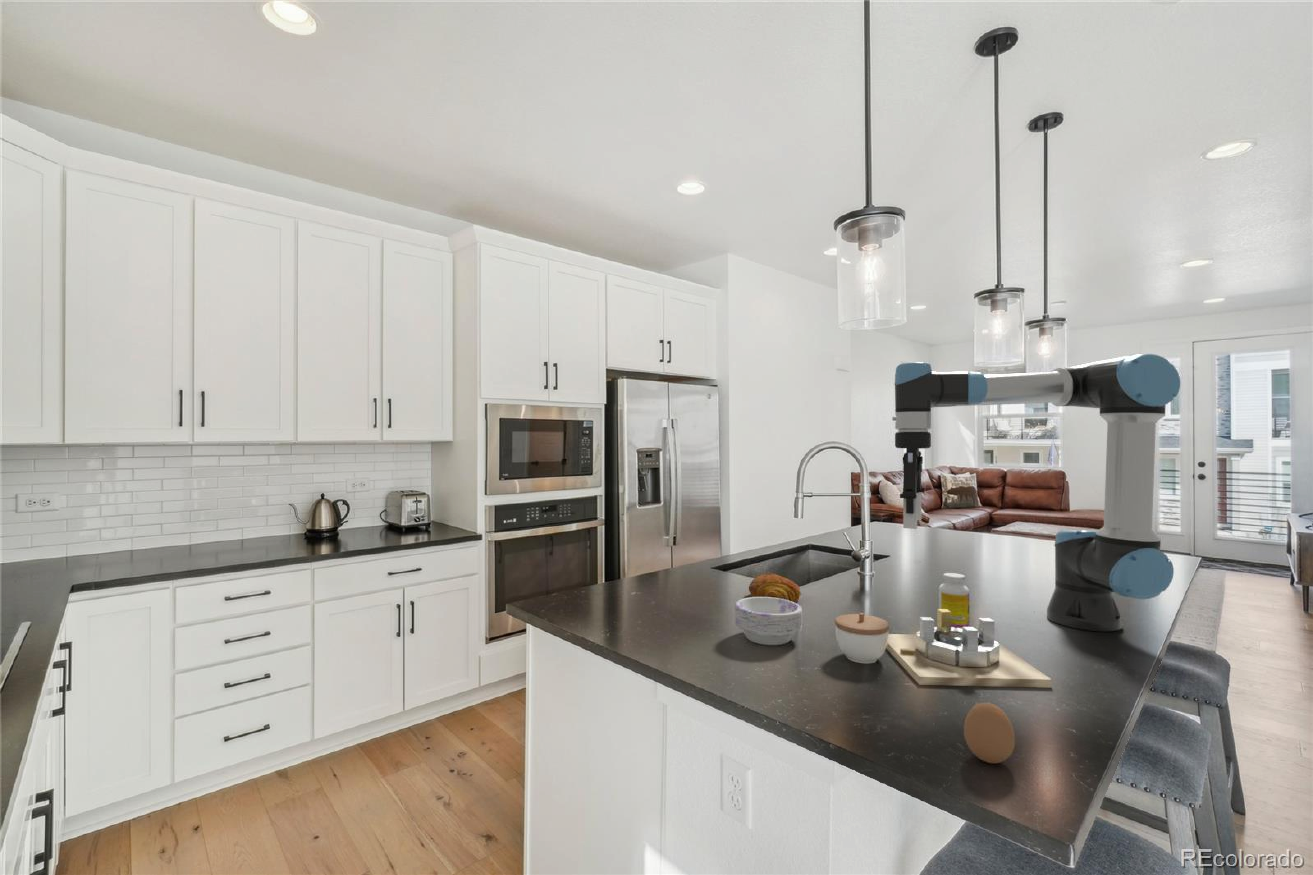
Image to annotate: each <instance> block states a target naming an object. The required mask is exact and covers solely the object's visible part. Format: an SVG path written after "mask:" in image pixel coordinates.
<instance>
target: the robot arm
mask: <svg viewBox="0 0 1313 875" xmlns="http://www.w3.org/2000/svg"><path fill="white" fill-rule="evenodd" d="M893 383H894V400H895V401H894V402H895V404H894V407H895V410H894V411H895V416H892V419H891V420H892V421H894V423H895V426H894V427H895V428H894V429H895V430H897V432H895V433H894V446H895V448H897V449H906V450H905V452H904V454H903V456H902V466H903V467H902V470H903V471H902V472H903V480H902V481H903V483H902V484H903V485H902V493H900V494H899V499H903V501H902V502H903V503H902V504H903V505H902V506H903V509H902V510H903V516H902V520H903V521H902V522H903V526H902V528H903V529H911V530H912V529H914V530H917V529H918V521H919V522H921V521H922V493H924V494H925V488H924V487H923V486H922V485H923V484H922V471H923V462H924V461H923V460H924V459H923V456H921V455H922V452H921V451H920V449H930V448H931V447H932V436H931V435H932V434H931V433H930V432H931V431H929V430H932V409H933V408H946V407H947V408H948V407H968V406H969V407H971V406H994V405H995V406H996V405H999V406H1000V405H1019V404H1020V405H1023V404H1024V405H1025V404H1049V403H1051V404H1052V405H1053V406H1056V407H1076V408H1077V407H1079V408H1090V409H1099V416H1100V418H1102V419H1103V420H1105V422H1106V426H1107V430H1106V453H1105V455H1106V456H1105V457H1106V458H1105V482H1104V483H1105V484H1104V485H1105V487H1104V514H1103V526H1102V527H1101V528H1099V529H1098V530H1097V529H1096V530H1094V529H1093V530H1090V529H1089V530H1088V529H1085V530H1084V529H1065V530H1064V529H1063V530H1062V529H1061V530H1058V531H1057V532H1056V534H1055V540H1054V541H1055V542H1054V544H1053V545H1054V552H1055V556H1054V559H1055V560H1054V562H1055V563H1054V565H1055V566H1054V569H1055V570H1054V572H1055V574H1054V576H1055V577H1054V578H1055V579H1054V581H1055V583H1054V585H1055V586H1054V590H1053V592H1052V596H1051V598H1050V600H1049V602H1048V605H1047V608H1046V617H1047V619H1048V620H1050V622H1053V623H1056V624H1058V625H1061V626H1064V627H1068V628H1073V629H1079V630H1084V631H1091V632H1092V631H1093V632H1116V631H1120V630H1122V616H1121V614H1120V612H1119V609H1118V606H1117V604H1116V601H1115V598H1114V596H1113V593H1115V594H1117V595H1118V596H1121V597H1124V598H1131V599H1135V600H1141V601H1143V600H1149V599H1150V600H1151V599H1153V598H1157V597H1158V596H1160V595H1161V593H1162V592H1165V591H1166V590H1167V589H1168V588H1169V587H1170V585H1171V583H1172V582H1173V579H1174V570H1175V569H1174V566H1173V562H1172V559H1169V557H1168V555H1167V554H1165V553H1164V552H1162V551H1161V537H1160V536H1158V535H1157V534H1156V533H1155V531H1153V514H1154V512H1153V511H1154V482H1155V457H1156V456H1155V453H1156V431H1157V430H1156V428H1157V426H1156V423H1157V422H1159V421H1160V420H1161V419H1162V418H1164V417H1165V416H1166V405H1167V404H1169V403H1171V402H1172V401H1173V400H1174V398H1175V397H1177V396H1178V394H1179V392H1180V388H1181V378H1180V374H1179V372H1178V369H1177V368H1176V367H1175V365H1174V364H1172V363H1171V362H1170V361H1169V360H1168V359H1167V358H1166V357H1164V356H1161V355H1158V354H1153V353H1143V354H1142V353H1139V354H1129V355H1124V356H1119V357H1116V358H1109V359H1102V360H1097V361H1094V362H1089V363H1085V364H1081V365H1076V366H1069V367H1056V368H1054V369H1053V370H1052V371H1050V372H1049V371H1047V372H1027V373H1026V372H1025V373H1004V374H1003V373H1001V374H983V373H982V372H979V371H970V370H967V371H948V372H947V371H933V370H932V366H931V363H929V362H923V361H920V362H919V361H916V362H904V363H900V364H898V365H897V367H896V368H895V374H894V382H893Z"/></svg>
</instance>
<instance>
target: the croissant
mask: <svg viewBox="0 0 1313 875" xmlns="http://www.w3.org/2000/svg"><path fill="white" fill-rule="evenodd" d="M748 591H749V593H750V595H751V597H773V598H780V599H785V600H789V601H792V602H794V603H797V602H798V601H799V599H800V596H801V589H800V586H799V585H798V583H797V584H796V582H794V581H793V580H791V579H789V578H786V577H783V576H780V575H778V574H775V573H769V574H768V573H763V574H761V575H758V576H756V577H754V578H753V579H752V580H751V582H750V584H749V586H748Z"/></svg>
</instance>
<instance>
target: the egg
mask: <svg viewBox="0 0 1313 875" xmlns="http://www.w3.org/2000/svg"><path fill="white" fill-rule="evenodd" d="M963 735H964V736H963V737H964V739H965V743H966V744H967V746H968V749H969V750H970V751H971V752H972V753H973V755H974V756H976V757H977V758H978V759H979V760H981V761H982V762H986V763H988V764H1000V763H1002V762H1004V761H1007V759H1009V758H1010V757H1011V756H1012V753H1013V751H1014V749H1015V746H1016V745H1015V744H1016V737H1015V736H1016V735H1015V731H1014V726H1013V725H1012V723H1011V721H1010V719H1009V717H1008V716H1007V714H1006V713H1005V711H1004V710H1003V709H1001V708H1000V706H997V705H996V704H994V703H990V702H981V703H978V704H975V705H974V706H973V707H972V708H971V709H970V710H969V712H968V713H967V715H966V716H965V720H964V724H963Z"/></svg>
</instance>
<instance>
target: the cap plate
mask: <svg viewBox="0 0 1313 875" xmlns="http://www.w3.org/2000/svg"><path fill="white" fill-rule="evenodd" d="M886 650H887V651H888V652H889V653H890V655H892V656H893V657H894V659H895V660H897V662H898V663H899V664H900V665H901V666H902V667H903V668H904V669H905V670H906V672H907V673H908V674H909V675H910V676H911V677H912V678H913V680H915V682H916V683H917V684H918V685H919V686H957V687H958V686H961V687H962V686H963V687H967V686H968V687H1005V688H1007V687H1008V688H1009V687H1011V688H1046V689H1047V688H1049V689H1050V688H1051V689H1052V688H1053V687H1052V686H1053V680H1052V678H1050V677H1049V676H1047V675H1046V674H1044V672H1041V671H1040V670H1038V669H1037V668H1035V667H1034V666H1033V665H1031V664H1030V663H1029V662H1026V660H1024V659H1022V658H1021V657H1019V656H1018V655H1016V654H1015V653H1013V652H1012V651H1011V650H1009V649H1007V648H1006V647H1004V646H1003V645H1001V644H1000V643H999V660H998V661H997V662H995V663H994V664H993V665H991V666H987V667H967V666H958V665H956V666H954V665H951V664H947V663H944V662H940V661H936V660H933V659H929V658H928V657H925V656H924V655H923V654H922V653H921V652H920V651H919V650H918V649H917V648H916V633H915V634H908V633H907V634H904V633H903V634H902V633H900V634H899V633H898V634H897V633H895V634H894V633H888V643H887V647H886Z"/></svg>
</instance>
